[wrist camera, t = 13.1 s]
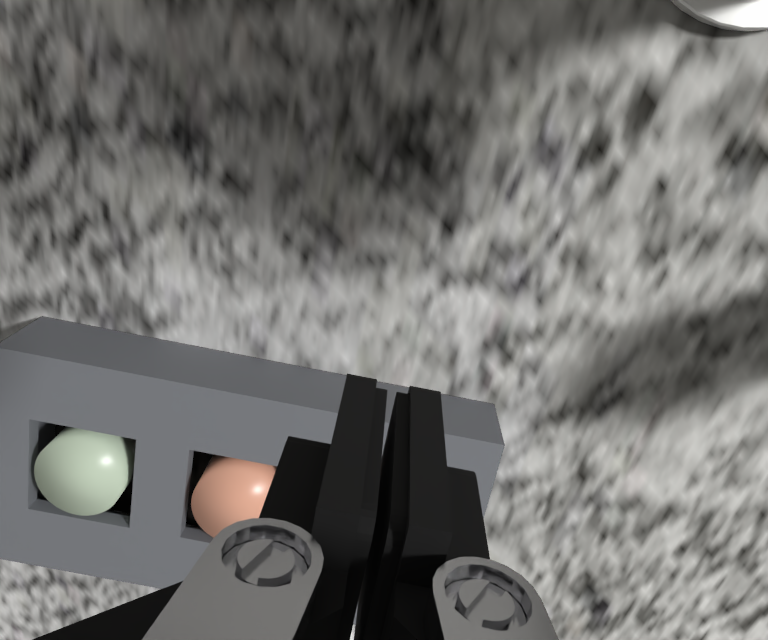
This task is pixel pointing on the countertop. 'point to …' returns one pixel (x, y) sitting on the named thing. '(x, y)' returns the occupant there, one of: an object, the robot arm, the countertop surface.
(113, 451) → the sage button
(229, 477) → the terracotta button
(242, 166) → the countertop surface
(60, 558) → the button box
